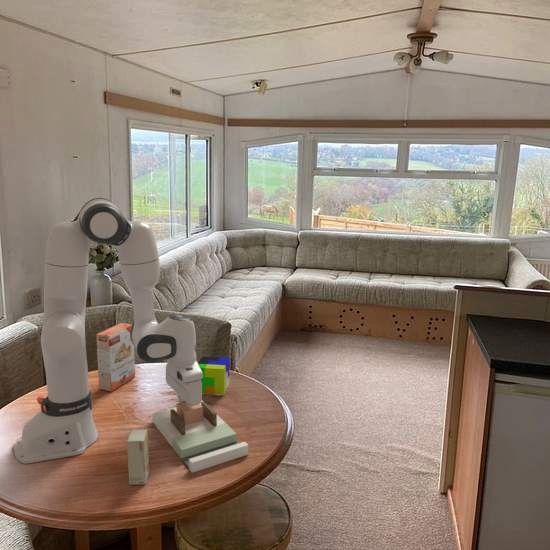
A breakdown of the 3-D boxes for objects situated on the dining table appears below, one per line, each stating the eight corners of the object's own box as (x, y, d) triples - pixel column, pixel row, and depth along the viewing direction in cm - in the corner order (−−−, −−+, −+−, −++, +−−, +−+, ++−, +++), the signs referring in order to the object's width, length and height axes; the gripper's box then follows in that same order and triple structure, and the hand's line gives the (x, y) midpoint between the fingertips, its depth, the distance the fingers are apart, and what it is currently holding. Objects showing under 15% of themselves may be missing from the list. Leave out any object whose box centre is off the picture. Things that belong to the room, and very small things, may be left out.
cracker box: (112, 392, 183) (109, 336, 178) (98, 389, 185) (94, 333, 180) (136, 377, 195) (134, 324, 190) (123, 374, 197) (120, 321, 193)
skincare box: (146, 485, 133) (144, 441, 130) (128, 485, 132) (126, 442, 130) (149, 470, 139) (148, 428, 136) (133, 470, 139) (131, 428, 136)
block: (184, 425, 156) (184, 411, 155) (176, 417, 161) (176, 403, 160) (202, 420, 159) (202, 406, 158) (194, 412, 164) (194, 398, 163)
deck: (192, 472, 138) (191, 462, 137) (152, 421, 164) (152, 413, 163) (248, 454, 147) (248, 444, 146) (202, 408, 172) (202, 400, 172)
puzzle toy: (229, 383, 192) (229, 358, 189) (224, 395, 182) (223, 369, 180) (202, 381, 192) (202, 356, 190) (195, 394, 183) (195, 367, 180)
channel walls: (182, 435, 150) (181, 422, 149) (170, 421, 158) (170, 409, 157) (216, 425, 156) (216, 413, 155) (204, 412, 163) (204, 401, 163)
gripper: (159, 356, 167) (161, 396, 170) (185, 380, 150) (186, 423, 154) (178, 352, 171) (179, 391, 174) (205, 375, 154) (206, 418, 157)
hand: (183, 406), depth 164 cm, fingers closed
